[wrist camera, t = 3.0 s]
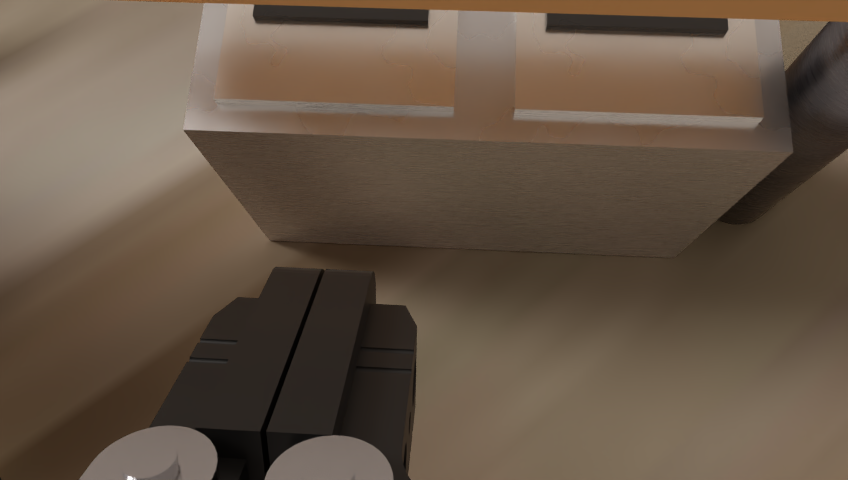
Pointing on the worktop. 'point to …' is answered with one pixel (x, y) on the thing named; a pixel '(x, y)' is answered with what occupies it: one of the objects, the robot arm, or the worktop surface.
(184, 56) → the worktop surface
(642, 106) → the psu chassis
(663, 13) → the light brown wooden bar
